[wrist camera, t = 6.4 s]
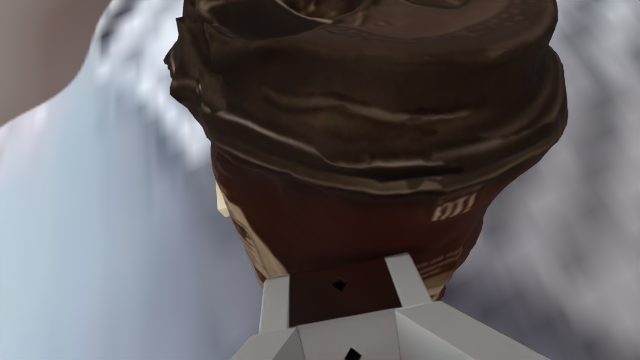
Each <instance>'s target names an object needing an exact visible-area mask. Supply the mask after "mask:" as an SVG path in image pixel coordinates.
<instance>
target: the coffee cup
mask: <svg viewBox="0 0 640 360" xmlns="http://www.w3.org/2000/svg"><path fill="white" fill-rule="evenodd" d="M176 22H177V28H178V33H179V36H178V40H177V41H176V42H175V44H174V45H173V47H172V48H171V49H170V50H169V52H168V53H167V55H166V56H165V58H164V63H165V64H167V65H168V69H169V70H170V76H171V78H172V82H171V86H170V95H171V96H172V97H173V98H175V99H176V100H177V101H178V102H179V103H181V104H182V105H184V106H185V107H187V108H188V110H189V111H190V112H191V114H192V115H193V116H194V118H195V119H196V120H197V121H198V122H199V124H200V125H201V126H202V127H203V130H204V132H205V135H206V137H207V138H208V139H209V140H210V141H211V161H212V169H213V173H214V176H215V179H216V182H217V184H218V186H219V189H220V191H221V193H222V196H223V199H224V201H225V204H226V207H227V210H228V212H229V215H230V218H231V220H232V222H233V224H234V226H235V228H236V231H237V233H238V235H239V237H240V239H241V241H242V242H243V244H244V247H245V250H246V253H247V255H248V257H249V260H250V262H251V265H252V267H253V269H254V272H255V275H256V277H257V280H258V283H259V285H260V286H261V288H262V290H263V289H264V282H265V280H266V279H267V278H271V277H276V276H282V275H287V274H289V275H290V274H293V273H300V272H306V271H312V270H318V269H324V268H330V267H340V266H345V265H350V264H355V263H360V262H365V261H370V260H375V259H380V258H384V257H387V256H392V255H396V254H401V253H405V252H407V253H409V254H410V256H411V258H412V260H413V262H414V264H415V266H416V268H417V270H418V272H419V274H420V276H421V278H422V280H423V282H424V285H425V287H426V289H427V291H428V293H429V295H430V297H431V299H432V301H433V302H436V301H440V299H441V298H442V297H443V296H444V293H445V289H446V282H447V281H448V280H449V279H450V278H451V277H452V274H453V272H454V271H455V270H456V269H457V268H458V267H459V266H460V265H461V264H462V263H463V262H464V261H465V260H466V258H467V257H468V255H469V252H470V251H471V249H472V248H473V247H474V245H475V244H476V241H477V239H478V237H479V234H480V232H481V229H482V225H483V216H484V214H485V212H486V210H487V208H488V206H489V205H490V204H491V202H492V201H493V200H494V199H495V197H496V196H497V195H498V194H499V193H500V192H501V191H502V190H503V189H504V188H505V187H506V186H507V185H508V184H510V183H511V182H512V181H513V180H515V179H516V178H517V177H518V176H520V175H521V174H523V173H524V172H526V171H527V170H528V169H530V168H531V167H532V166H534V165H535V164H536V163H538V162H539V161H540V160H541V159H542V157H543V156H544V155H545V154H546V153H547V152H548V150H549V149H550V148H551V147H552V146H553V145H554V144H555V143H557V142H558V140H559V139H560V137H561V136H562V134H563V132H564V130H565V127H566V125H567V119H568V108H567V93H566V86H565V78H564V70H563V64H562V63H561V61H560V58H559V56H558V54H557V53H556V52H555V51H554V50H553V49H552V48H551V47H550V46H549V41H550V39H551V37H552V35H553V33H554V30H555V27H556V24H557V22H558V9H557V2H556V0H184V4H183V16H182V17H179V18H176Z"/></svg>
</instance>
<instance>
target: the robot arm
mask: <svg viewBox="0 0 640 360" xmlns="http://www.w3.org/2000/svg"><path fill="white" fill-rule="evenodd" d="M230 360H550V359H548V358H546V357H544V356H543V355H541V354H539V353H537V352H535V351H533V350H531V349H529V348H528V347H526V346H524V345H522V344H520V343H518V342H516V341H515V340H513V339H511V338H509V337H507V336H505V335H503V334H502V333H500V332H498V331H496V330H494V329H492V328H490V327H488V326H487V325H485V324H483V323H481V322H479V321H477V320H475V319H474V318H472V317H470V316H468V315H466V314H464V313H462V312H461V311H459V310H457V309H455V308H453V307H451V306H449V305H448V304H446V303H444V302H442V301H436V302H433V301H432V299H431V297H430V295H429V293H428V291H427V289H426V287H425V285H424V282H423V280H422V278H421V276H420V274H419V272H418V270H417V268H416V266H415V264H414V262H413V260H412V258H411V256H410V254H409V253H407V252H405V253H401V254H396V255H392V256H387V257H384V258H380V259H375V260H370V261H365V262H360V263H355V264H350V265H345V266H340V267H330V268H324V269H318V270H312V271H306V272H300V273H293V274H290V275H289V274H287V275H282V276H276V277H271V278H267V279H266V280H265V282H264V289H263V298H262V307H261V316H260V325H259V334H255V335H251V336H250V337H249V338H248V339H247V341H246V342H245V343H244V344H243V345H242V346H241V347H240V348H239V350H238V351H237V352H236V353H235V354H234V355H233V356H232V357H231V359H230Z"/></svg>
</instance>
